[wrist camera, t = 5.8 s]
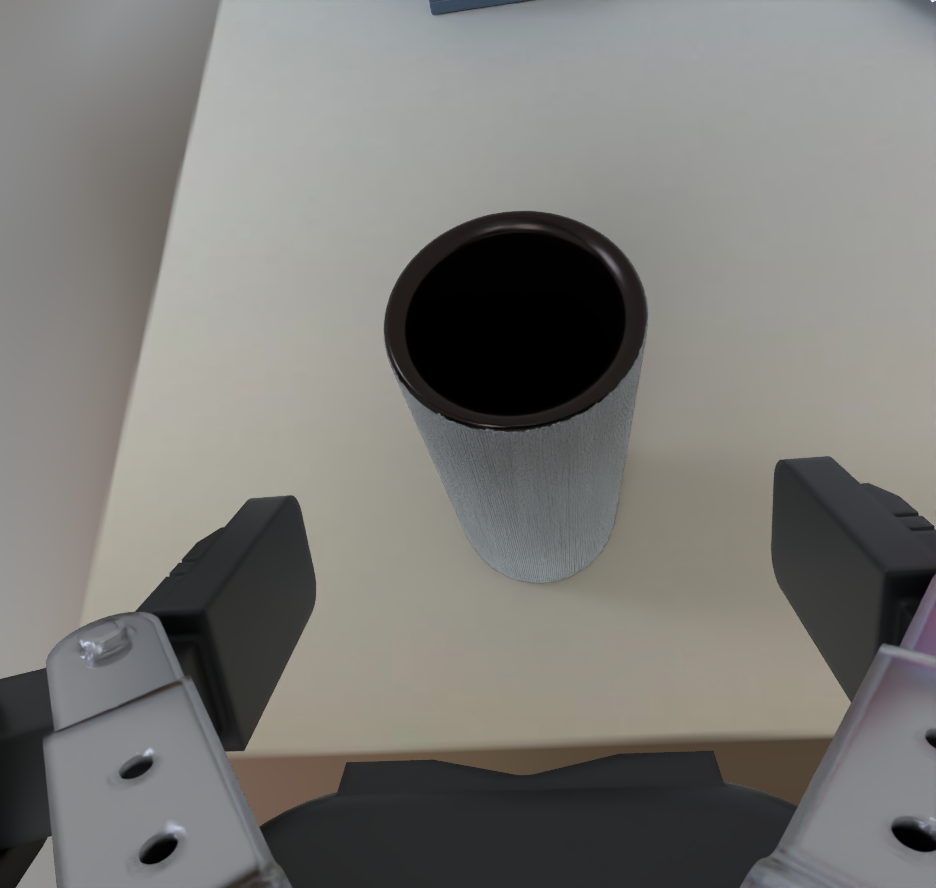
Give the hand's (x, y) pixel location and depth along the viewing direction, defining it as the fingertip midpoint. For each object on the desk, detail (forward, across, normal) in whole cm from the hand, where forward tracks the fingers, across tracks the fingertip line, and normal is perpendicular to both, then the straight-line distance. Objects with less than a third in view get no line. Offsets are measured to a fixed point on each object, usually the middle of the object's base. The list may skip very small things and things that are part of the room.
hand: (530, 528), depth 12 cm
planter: (+9, 0, +4) cm, 10 cm away
